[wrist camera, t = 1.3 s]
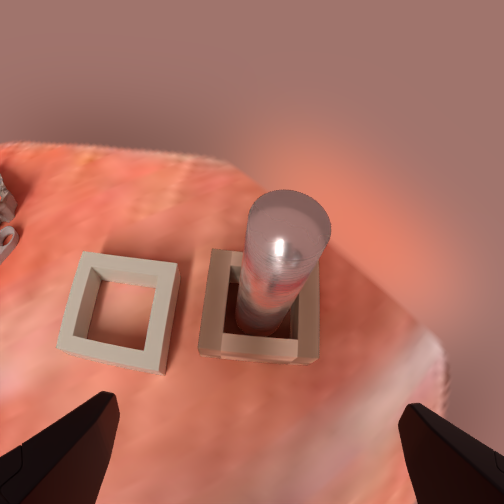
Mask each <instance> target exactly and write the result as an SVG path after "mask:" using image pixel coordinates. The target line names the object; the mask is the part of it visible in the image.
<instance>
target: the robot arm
mask: <svg viewBox="0 0 504 504" xmlns="http://www.w3.org/2000/svg"><path fill="white" fill-rule="evenodd" d="M119 418H120V412H119V407H118V403H117V399H116V395H115V394H114V393H110V392H106V391H101V392H99V393H98V394H96V395H95V396H93V397H92V398H91V399H89V400H88V401H86V402H85V403H83V404H82V405H80V406H79V407H77V408H76V409H74V410H73V411H71V412H70V413H68V414H67V415H65V416H64V417H62V418H61V419H59V420H58V421H56V422H55V423H53V424H52V425H50V426H49V427H47V428H45V429H44V430H42V431H41V432H39V433H38V434H36V435H35V436H33V437H32V438H30V439H29V440H27V441H25V442H24V443H22V446H21V445H19V446H18V447H16V448H14V449H13V450H11V451H9V452H8V453H6V454H4V455H3V456H1V457H0V504H95V502H96V499H97V496H98V493H99V490H100V487H101V484H102V482H103V479H104V476H105V473H106V470H107V467H108V464H109V461H110V458H111V454H112V449H113V445H114V440H115V436H116V431H117V427H118V423H119ZM398 429H399V433H400V438H401V443H402V448H403V453H404V458H405V462H406V466H407V469H408V473H409V476H410V479H411V482H412V486H413V489H414V492H415V496H416V499H417V502H418V504H504V456H502V455H501V454H499V453H498V452H496V451H493V449H491V448H489V447H488V446H486V445H485V444H483V443H481V442H480V441H478V440H477V439H475V438H473V437H472V436H470V435H469V434H467V433H466V432H464V431H462V430H461V429H459V428H458V427H456V426H454V425H453V424H451V423H450V422H448V421H447V420H445V419H444V418H442V417H441V416H439V415H438V414H436V413H434V412H433V411H431V410H430V409H428V408H427V407H425V406H424V405H422V404H421V403H412V404H408V405H407V406H406V408H405V410H404V412H403V414H402V416H401V418H400V420H399V423H398Z"/></svg>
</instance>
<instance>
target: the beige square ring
mask: <svg viewBox="0 0 504 504" xmlns="http://www.w3.org/2000/svg"><path fill="white" fill-rule="evenodd" d="M242 259H243V252H238V251H230V250H221V249H212V252H211V258H210V265H209V271H208V278H207V284H206V291H205V298H204V305H203V312H202V319H201V327H200V334H199V341H198V350H199V353H200V356H203V357H211V358H220V359H229V360H239V361H249V362H261V363H274V364H289V365H309V364H311V363H312V362H314V361H316V360H317V359H319V344H320V294H319V260H318V261H317V263H316V265H315V267H314V268H313V270H312V272H311V273H310V275H309V277H308V279H307V280H306V282H305V284H304V285H303V287H302V289H301V291H300V292H299V294H298V296H297V297H296V299H295V301H294V302H293V304H292V306H291V311H290V339H281V338H269V337H257V336H247V335H237V334H228V333H224V325H225V316H226V308H227V299H228V290H229V282H230V283H239V281H240V273H241V266H242Z"/></svg>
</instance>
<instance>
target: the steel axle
mask: <svg viewBox="0 0 504 504" xmlns="http://www.w3.org/2000/svg"><path fill="white" fill-rule="evenodd" d="M330 235H331V223H330V220H329V217H328V215H327V213H326V211H325V210H324V209H323V207H322V206H321V205H320V204H319V203H318V202H317V201H315V200H314V199H313V198H311V197H309V196H308V195H305V194H303V193H300V192H297V191H293V190H276V191H272V192H269V193H266V194H264V195H262V196H261V197H260V198H258V199H257V200H256V201H255V202H254V204H253V205H252V207H251V209H250V211H249V216H248V223H247V230H246V237H245V244H244V251H243V259H242V266H241V273H240V281H239V288H238V295H237V303H236V310H235V320H236V323H237V325H238V327H239V328H240V329H241V330H242V331H243V332H244V333H245V334H247V335H249V336H257V337H267V336H269V335H271V334H273V333H274V332H275V331H276V330H277V329H278V327H279V325H280V324H281V322H282V321H283V319H284V317H285V316H286V314H287V312H288V311H289V309H290V307H291V306H292V304H293V302H294V301H295V299H296V297H297V296H298V294H299V292H300V291H301V289H302V287H303V285H304V284H305V282H306V280H307V279H308V277H309V275H310V273H311V272H312V270H313V268H314V267H315V265H316V263H317V261H318V260H319V258H320V256H321V254H322V252H323V251H324V249H325V247H326V245H327V244H328V241H329V239H330Z"/></svg>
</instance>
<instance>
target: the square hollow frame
mask: <svg viewBox="0 0 504 504" xmlns="http://www.w3.org/2000/svg"><path fill="white" fill-rule="evenodd" d="M101 280H105V281H111V282H117V283H124V284H131V285H137V286H144V287H151V288H156V290H155V295H154V300H153V304H152V309H151V315H150V320H149V325H148V330H147V336H146V342H145V347H144V351H142V350H137V349H132V348H126V347H121V346H116V345H112V344H107V343H102V342H98V341H93V340H89V339H87V335H88V330H89V326H90V322H91V318H92V313H93V309H94V305H95V301H96V298H97V294H98V290H99V286H100V283H101ZM180 280H181V276H180V272H179V268H178V264H177V263H172V262H163V261H155V260H147V259H139V258H131V257H123V256H116V255H108V254H100V253H93V252H85V251H83V253H82V256H81V258H80V261H79V265H78V268H77V271H76V274H75V277H74V280H73V284H72V287H71V290H70V294H69V297H68V301H67V305H66V308H65V312H64V316H63V320H62V324H61V328H60V332H59V336H58V341H57V345H56V348H57V349H59V350H61V351H63V352H65V353H67V354H69V355H72V356H75V357H79V358H83V359H87V360H91V361H95V362H99V363H104V364H108V365H112V366H117V367H122V368H126V369H131V370H136V371H141V372H147V373H152V374H158V375H164V376H165V371H166V364H167V357H168V351H169V344H170V338H171V331H172V325H173V319H174V313H175V308H176V302H177V296H178V291H179V285H180Z"/></svg>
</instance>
